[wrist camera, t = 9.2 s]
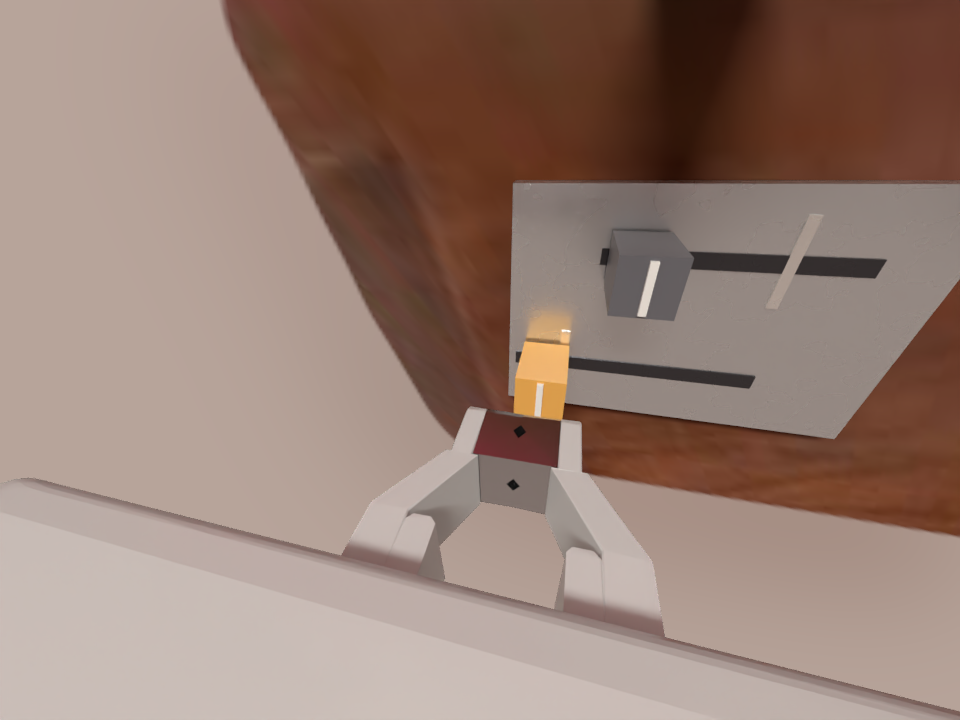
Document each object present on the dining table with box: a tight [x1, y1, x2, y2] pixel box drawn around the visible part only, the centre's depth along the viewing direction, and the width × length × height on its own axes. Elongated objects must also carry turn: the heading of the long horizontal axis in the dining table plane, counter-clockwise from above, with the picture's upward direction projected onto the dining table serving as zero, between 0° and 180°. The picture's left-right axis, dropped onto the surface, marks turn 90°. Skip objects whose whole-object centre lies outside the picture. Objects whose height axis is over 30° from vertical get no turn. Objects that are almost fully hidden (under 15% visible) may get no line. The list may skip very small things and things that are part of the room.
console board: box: [509, 180, 960, 439], centre depth 23 cm, size 23×16×1 cm
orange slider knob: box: [514, 341, 569, 420], centre depth 24 cm, size 3×3×5 cm
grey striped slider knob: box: [604, 231, 694, 321], centre depth 19 cm, size 3×3×5 cm
